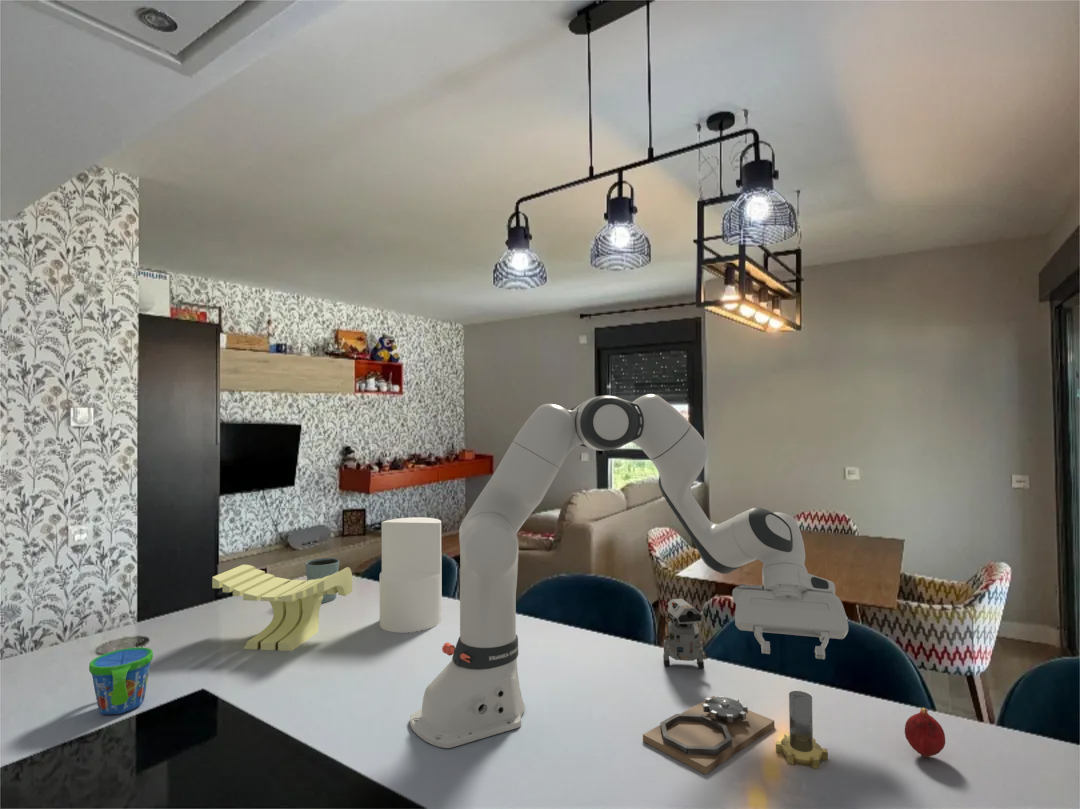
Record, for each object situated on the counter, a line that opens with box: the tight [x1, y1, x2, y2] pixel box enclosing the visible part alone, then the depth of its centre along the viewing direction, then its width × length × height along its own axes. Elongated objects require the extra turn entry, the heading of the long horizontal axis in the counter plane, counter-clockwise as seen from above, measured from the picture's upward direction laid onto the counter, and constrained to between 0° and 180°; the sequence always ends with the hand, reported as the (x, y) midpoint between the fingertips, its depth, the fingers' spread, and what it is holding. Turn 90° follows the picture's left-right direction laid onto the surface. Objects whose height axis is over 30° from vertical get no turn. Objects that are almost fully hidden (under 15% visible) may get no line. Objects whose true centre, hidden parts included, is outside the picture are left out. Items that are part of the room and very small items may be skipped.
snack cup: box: [88, 646, 154, 715], centre depth 120 cm, size 16×10×10 cm
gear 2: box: [775, 690, 829, 770], centre depth 101 cm, size 8×8×10 cm
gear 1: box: [703, 694, 749, 722], centre depth 111 cm, size 8×8×3 cm
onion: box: [904, 707, 946, 758], centre depth 101 cm, size 6×6×8 cm
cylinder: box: [379, 516, 443, 634], centre depth 169 cm, size 17×17×28 cm
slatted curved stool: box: [211, 564, 353, 652], centre depth 157 cm, size 30×16×18 cm, turn 83°
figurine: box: [662, 597, 709, 669], centre depth 136 cm, size 9×12×15 cm
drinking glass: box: [305, 557, 340, 604], centre depth 191 cm, size 10×10×12 cm
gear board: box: [642, 695, 775, 775], centre depth 108 cm, size 22×13×2 cm, turn 130°
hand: (793, 655), depth 111 cm, fingers open, 8 cm apart
